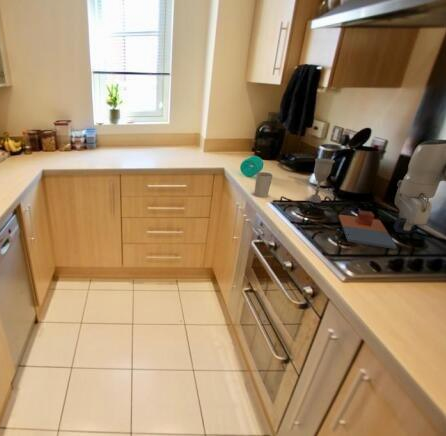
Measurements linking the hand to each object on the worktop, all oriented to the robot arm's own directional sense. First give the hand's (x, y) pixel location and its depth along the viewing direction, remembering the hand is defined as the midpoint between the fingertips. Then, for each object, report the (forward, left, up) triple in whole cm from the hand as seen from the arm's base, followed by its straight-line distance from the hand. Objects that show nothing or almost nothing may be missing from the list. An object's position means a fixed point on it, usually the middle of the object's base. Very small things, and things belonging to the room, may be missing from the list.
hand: (403, 226), depth 110 cm
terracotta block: (+11, 0, -1) cm, 11 cm away
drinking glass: (+47, -20, -2) cm, 52 cm away
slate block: (0, 0, -2) cm, 2 cm away
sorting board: (+12, +5, -2) cm, 13 cm away
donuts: (+55, -52, -2) cm, 76 cm away
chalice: (+25, -22, -2) cm, 34 cm away
